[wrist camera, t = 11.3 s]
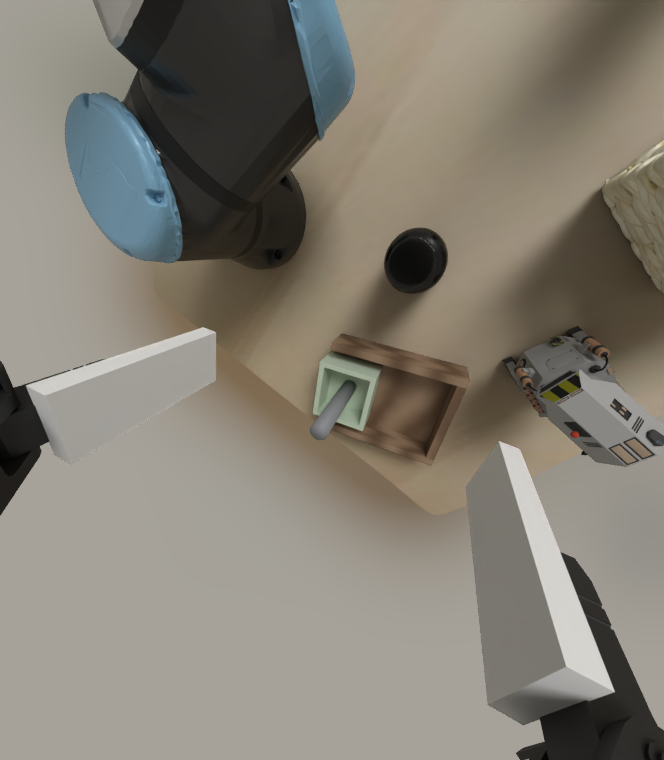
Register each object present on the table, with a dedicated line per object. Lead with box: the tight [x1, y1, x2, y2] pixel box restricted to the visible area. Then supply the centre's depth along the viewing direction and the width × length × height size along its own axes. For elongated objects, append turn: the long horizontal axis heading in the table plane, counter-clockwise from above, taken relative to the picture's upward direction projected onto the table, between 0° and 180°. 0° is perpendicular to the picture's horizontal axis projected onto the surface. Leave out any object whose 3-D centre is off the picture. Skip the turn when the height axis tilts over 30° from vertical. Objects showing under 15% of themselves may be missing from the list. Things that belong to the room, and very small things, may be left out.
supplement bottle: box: [384, 228, 448, 294], centre depth 32 cm, size 7×7×12 cm
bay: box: [331, 334, 470, 466], centre depth 45 cm, size 20×16×5 cm
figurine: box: [502, 326, 664, 467], centre depth 30 cm, size 9×12×15 cm
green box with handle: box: [310, 351, 383, 440], centre depth 41 cm, size 9×10×15 cm
